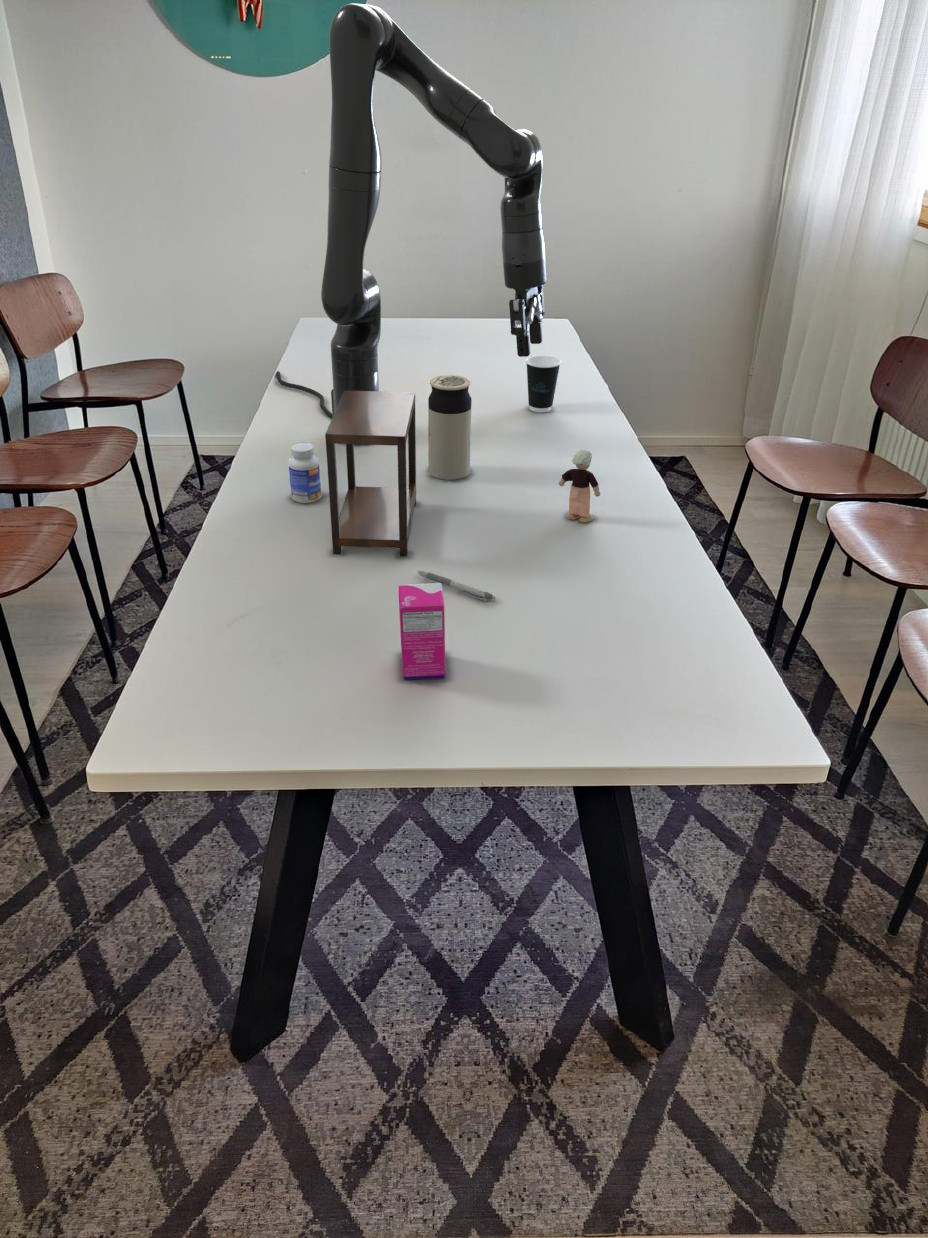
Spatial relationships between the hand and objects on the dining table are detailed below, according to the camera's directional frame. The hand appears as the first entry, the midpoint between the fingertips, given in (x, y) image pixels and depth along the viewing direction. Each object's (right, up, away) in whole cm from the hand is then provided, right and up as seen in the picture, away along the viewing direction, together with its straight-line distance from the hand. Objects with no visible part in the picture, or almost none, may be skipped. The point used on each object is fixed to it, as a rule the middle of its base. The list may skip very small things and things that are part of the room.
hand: (530, 349), depth 169 cm
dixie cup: (+5, -2, +38) cm, 38 cm away
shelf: (-27, -34, -13) cm, 46 cm away
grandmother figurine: (+8, -32, -8) cm, 34 cm away
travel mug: (-15, -22, +7) cm, 28 cm away
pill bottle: (-41, -28, -4) cm, 50 cm away
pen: (-14, -46, -30) cm, 57 cm away
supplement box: (-18, -57, -47) cm, 76 cm away
